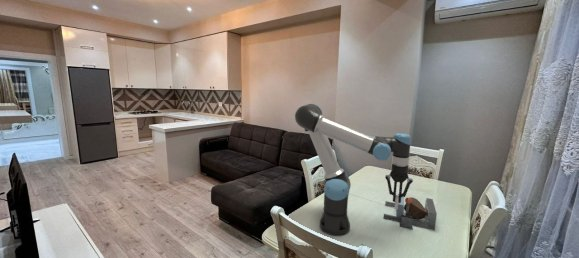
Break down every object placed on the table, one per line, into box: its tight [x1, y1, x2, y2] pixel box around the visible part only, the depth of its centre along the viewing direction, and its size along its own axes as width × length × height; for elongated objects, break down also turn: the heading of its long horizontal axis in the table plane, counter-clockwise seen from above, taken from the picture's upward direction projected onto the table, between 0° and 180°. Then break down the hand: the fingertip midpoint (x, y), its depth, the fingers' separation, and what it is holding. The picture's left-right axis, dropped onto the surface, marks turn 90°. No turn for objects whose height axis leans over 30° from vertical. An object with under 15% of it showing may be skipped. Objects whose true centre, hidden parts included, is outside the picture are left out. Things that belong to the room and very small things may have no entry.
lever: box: [404, 197, 412, 218], centre depth 119 cm, size 3×3×12 cm
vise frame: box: [382, 197, 438, 231], centre depth 128 cm, size 22×24×9 cm
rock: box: [404, 197, 427, 221], centre depth 128 cm, size 12×10×10 cm
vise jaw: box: [395, 193, 405, 217], centre depth 131 cm, size 14×3×9 cm, turn 155°
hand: (396, 207), depth 122 cm, fingers closed
